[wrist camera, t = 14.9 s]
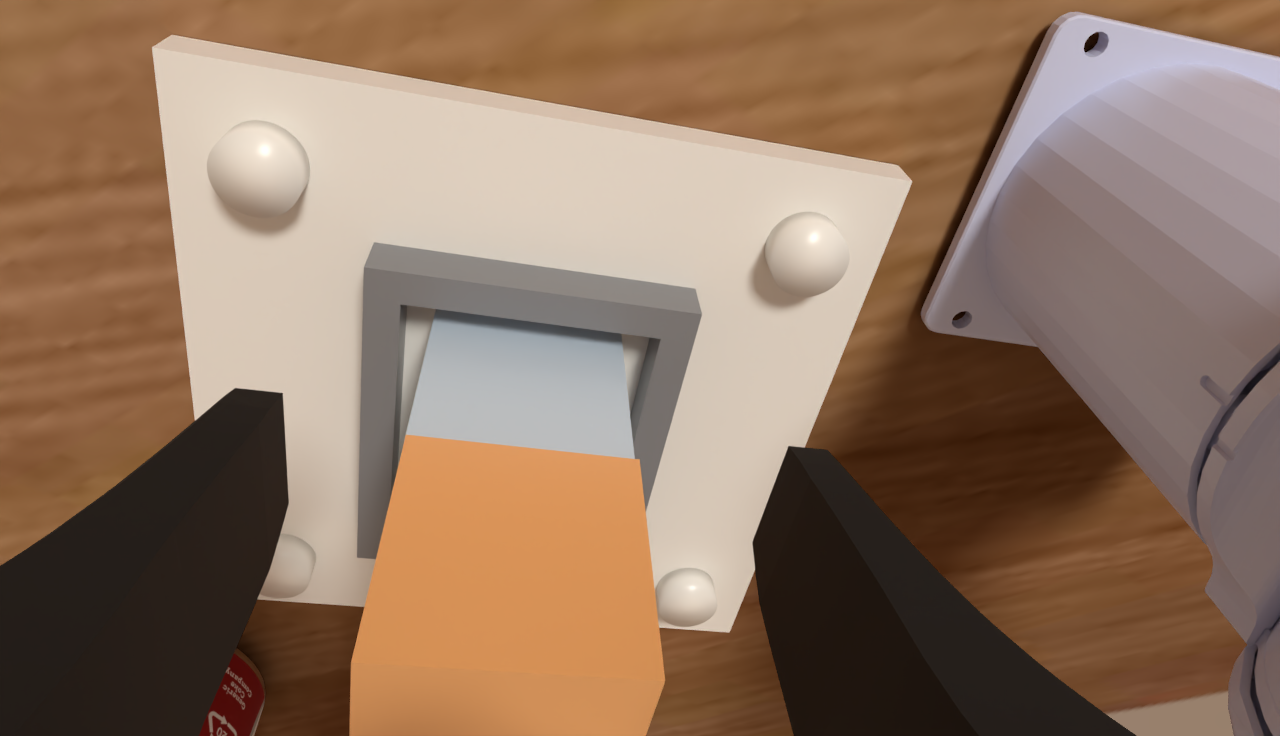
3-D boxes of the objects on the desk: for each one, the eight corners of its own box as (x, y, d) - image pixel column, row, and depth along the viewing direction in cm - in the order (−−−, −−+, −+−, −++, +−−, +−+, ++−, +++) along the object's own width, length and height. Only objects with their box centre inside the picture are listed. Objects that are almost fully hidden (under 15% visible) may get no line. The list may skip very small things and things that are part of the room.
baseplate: (897, 165, 20) (931, 202, 18) (724, 608, 29) (735, 663, 27) (172, 34, 17) (125, 64, 15) (226, 570, 26) (201, 629, 24)
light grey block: (621, 333, 21) (635, 468, 17) (580, 507, 24) (584, 656, 20) (436, 307, 20) (403, 442, 16) (419, 492, 23) (389, 643, 19)
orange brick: (639, 459, 17) (664, 681, 12) (588, 650, 20) (595, 875, 16) (405, 434, 16) (350, 662, 12) (393, 637, 19) (346, 871, 15)
